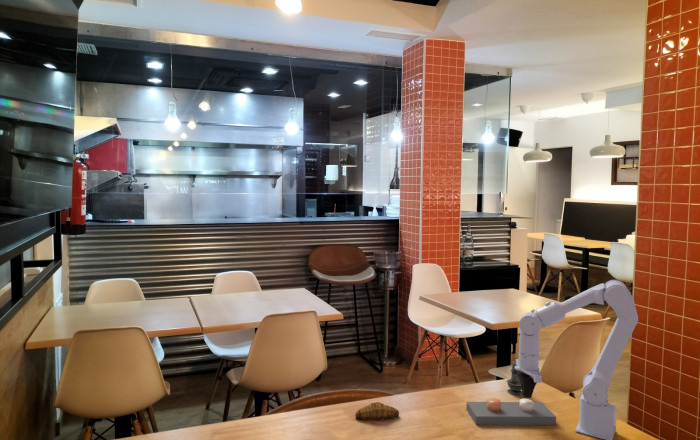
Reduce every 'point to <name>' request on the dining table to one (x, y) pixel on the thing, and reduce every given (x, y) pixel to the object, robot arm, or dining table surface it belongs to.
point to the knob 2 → (526, 405)
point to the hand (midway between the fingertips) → (527, 396)
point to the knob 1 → (494, 405)
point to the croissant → (376, 412)
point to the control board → (510, 414)
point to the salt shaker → (514, 382)
